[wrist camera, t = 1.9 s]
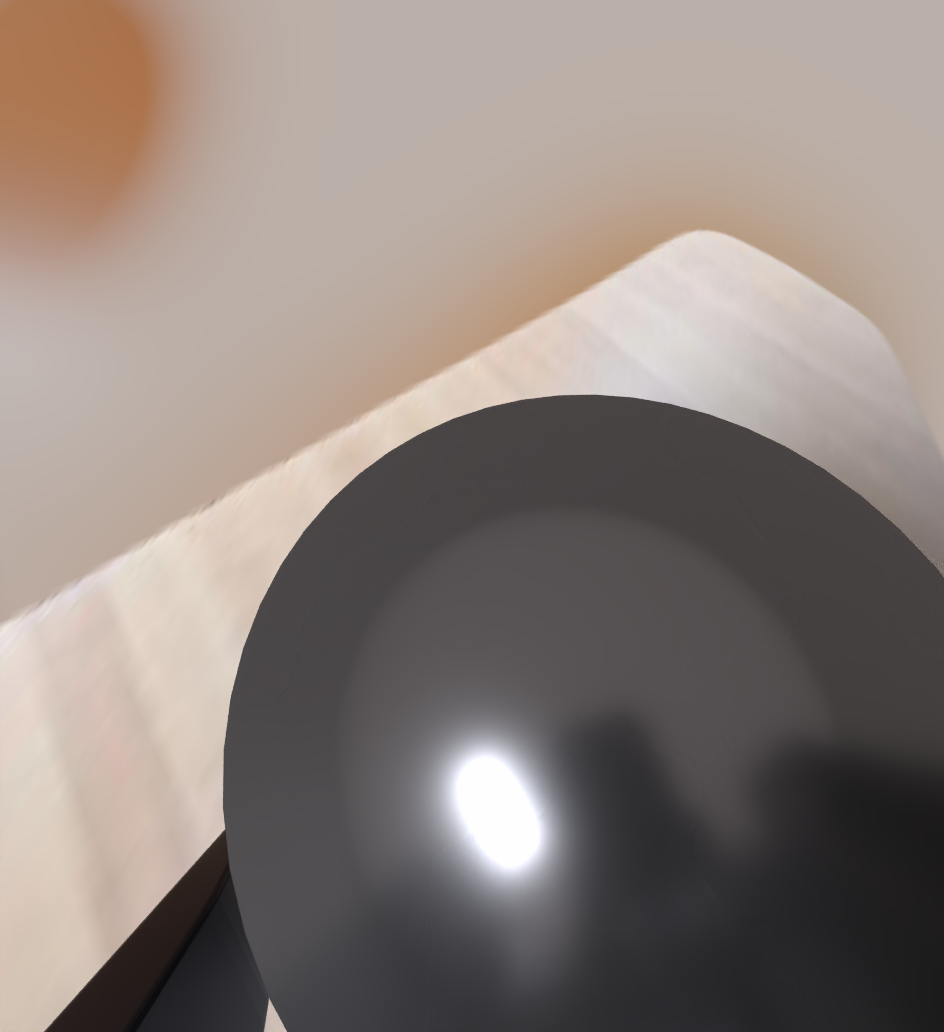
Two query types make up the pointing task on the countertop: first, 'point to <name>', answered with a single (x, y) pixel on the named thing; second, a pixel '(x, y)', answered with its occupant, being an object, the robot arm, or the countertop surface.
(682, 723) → the hinge pin
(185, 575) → the countertop surface
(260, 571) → the countertop surface
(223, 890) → the robot arm
